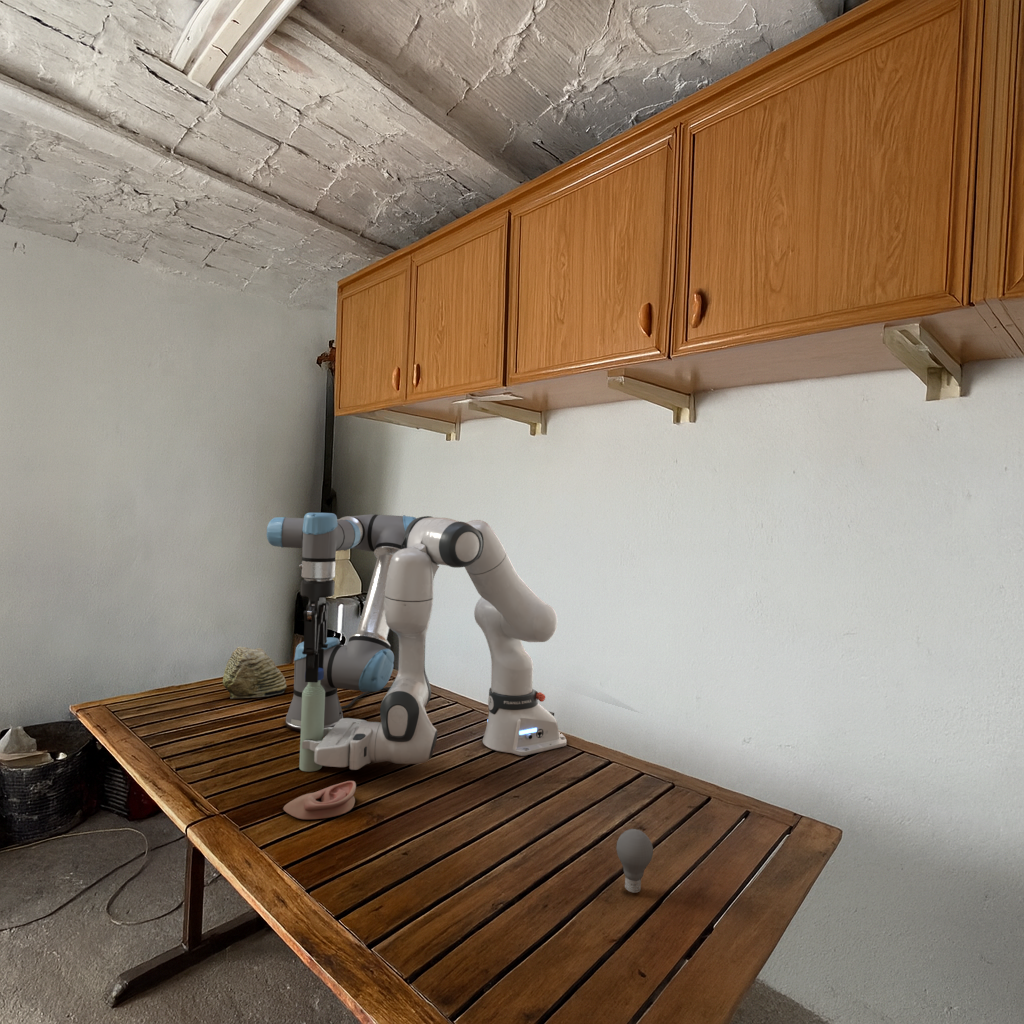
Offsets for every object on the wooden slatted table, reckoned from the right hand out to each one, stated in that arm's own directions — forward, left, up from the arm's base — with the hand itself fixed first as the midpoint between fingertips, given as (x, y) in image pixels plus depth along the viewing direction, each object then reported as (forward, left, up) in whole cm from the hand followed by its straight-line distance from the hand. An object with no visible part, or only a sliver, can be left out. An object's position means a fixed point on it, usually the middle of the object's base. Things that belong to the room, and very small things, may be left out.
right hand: (308, 738), depth 148 cm
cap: (-1, 0, +16) cm, 16 cm away
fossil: (+10, -59, -7) cm, 60 cm away
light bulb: (-46, +66, -7) cm, 81 cm away
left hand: (-1, 0, +14) cm, 14 cm away
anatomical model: (-1, +21, -7) cm, 22 cm away
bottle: (-1, 0, -7) cm, 7 cm away
